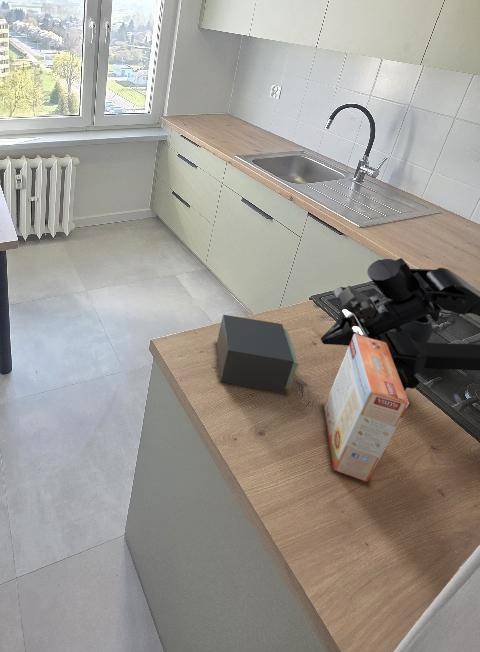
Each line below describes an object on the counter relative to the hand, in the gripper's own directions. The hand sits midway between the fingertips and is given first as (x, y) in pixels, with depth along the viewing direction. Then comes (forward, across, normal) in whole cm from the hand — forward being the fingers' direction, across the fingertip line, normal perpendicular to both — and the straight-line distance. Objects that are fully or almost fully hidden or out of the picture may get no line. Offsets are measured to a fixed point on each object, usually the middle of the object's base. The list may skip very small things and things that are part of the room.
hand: (322, 341), depth 90 cm
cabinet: (+17, 0, -2) cm, 17 cm away
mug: (-11, -15, +26) cm, 32 cm away
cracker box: (+6, +15, +10) cm, 19 cm away
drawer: (+15, 0, -1) cm, 15 cm away
